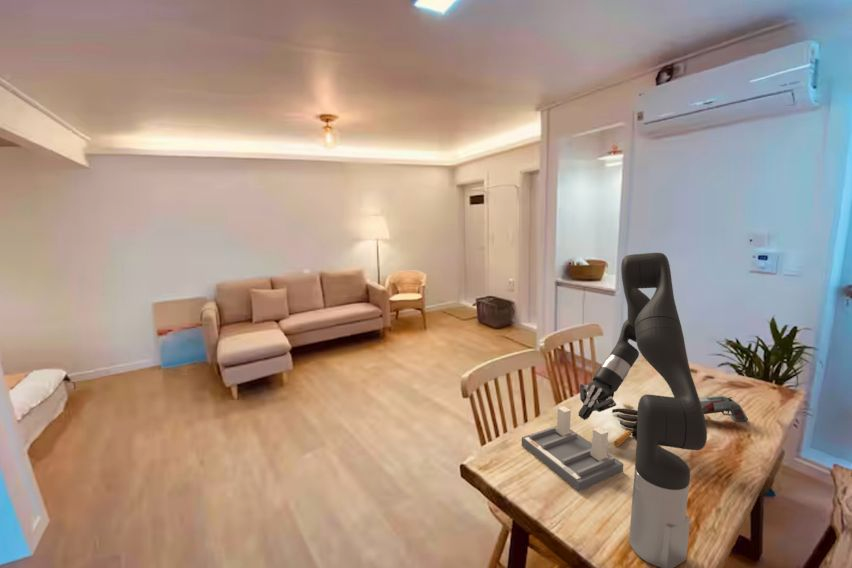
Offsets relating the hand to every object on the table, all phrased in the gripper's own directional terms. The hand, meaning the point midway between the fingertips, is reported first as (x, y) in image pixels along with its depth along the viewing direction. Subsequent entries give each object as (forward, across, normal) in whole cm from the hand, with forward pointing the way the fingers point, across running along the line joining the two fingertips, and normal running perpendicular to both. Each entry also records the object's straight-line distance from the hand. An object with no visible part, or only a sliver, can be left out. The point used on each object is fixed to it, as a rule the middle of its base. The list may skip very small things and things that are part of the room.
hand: (581, 417), depth 118 cm
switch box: (+12, +6, -4) cm, 14 cm away
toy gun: (-28, +12, +37) cm, 47 cm away
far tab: (+7, 0, -3) cm, 8 cm away
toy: (-10, +7, +19) cm, 23 cm away
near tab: (+7, +13, -3) cm, 15 cm away
